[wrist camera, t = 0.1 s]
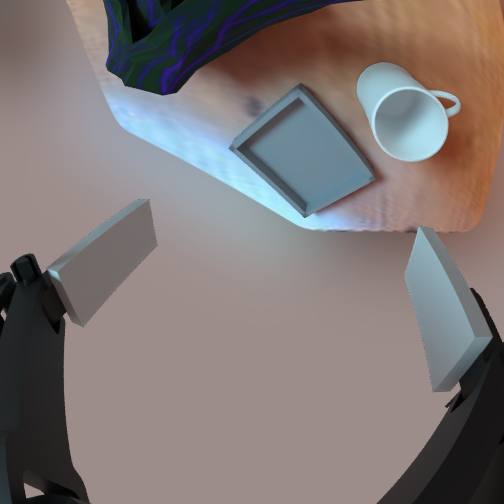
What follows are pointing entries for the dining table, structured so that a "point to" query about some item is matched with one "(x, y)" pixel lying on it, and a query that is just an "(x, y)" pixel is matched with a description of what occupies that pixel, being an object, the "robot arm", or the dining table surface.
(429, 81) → the dining table surface
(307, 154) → the slate tray
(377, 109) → the mug
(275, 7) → the decorative plant
